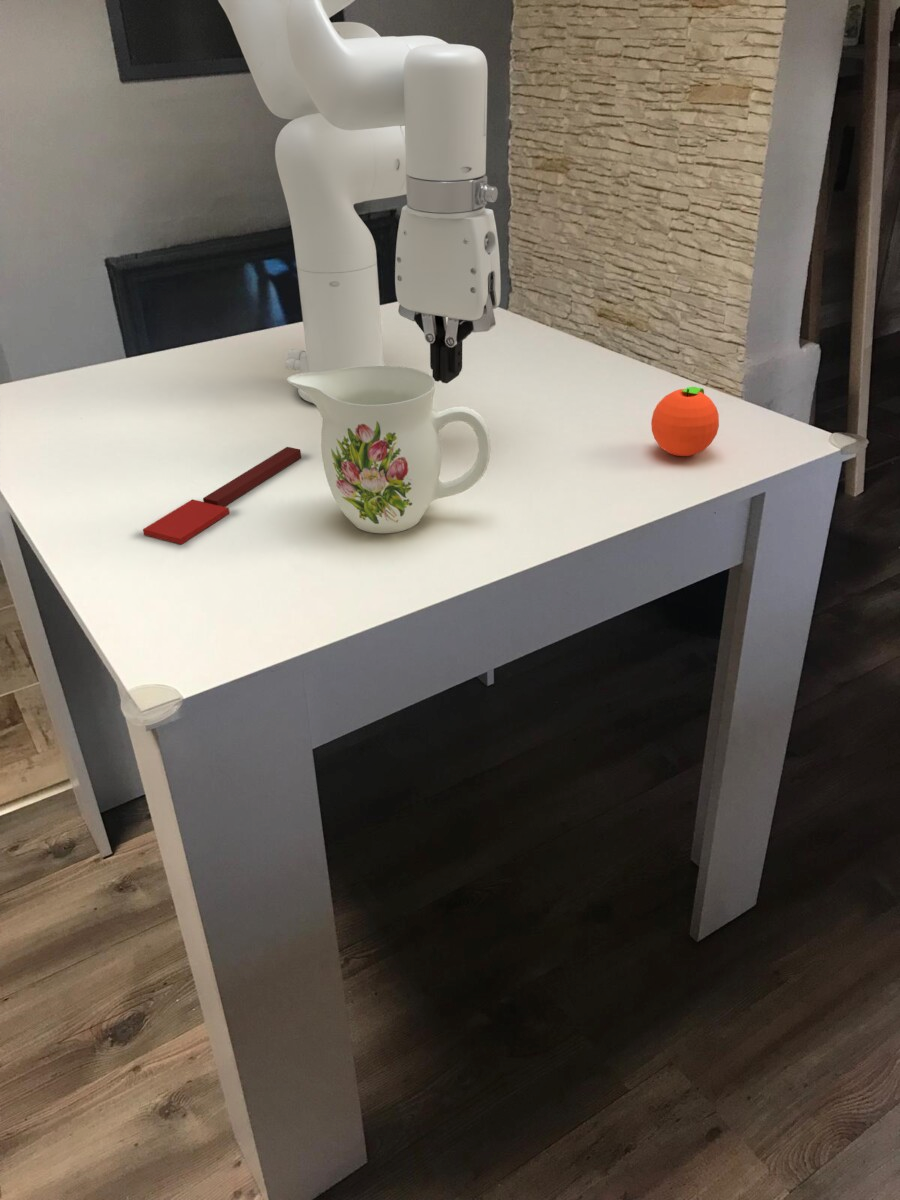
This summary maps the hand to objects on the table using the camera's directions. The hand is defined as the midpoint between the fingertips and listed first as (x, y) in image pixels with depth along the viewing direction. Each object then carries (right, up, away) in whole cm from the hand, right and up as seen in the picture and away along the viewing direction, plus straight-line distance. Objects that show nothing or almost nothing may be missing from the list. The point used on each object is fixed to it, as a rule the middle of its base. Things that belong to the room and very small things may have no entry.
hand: (446, 377), depth 102 cm
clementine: (+25, -8, +1) cm, 27 cm away
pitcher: (-5, -16, -10) cm, 19 cm away
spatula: (-22, -13, -5) cm, 26 cm away
